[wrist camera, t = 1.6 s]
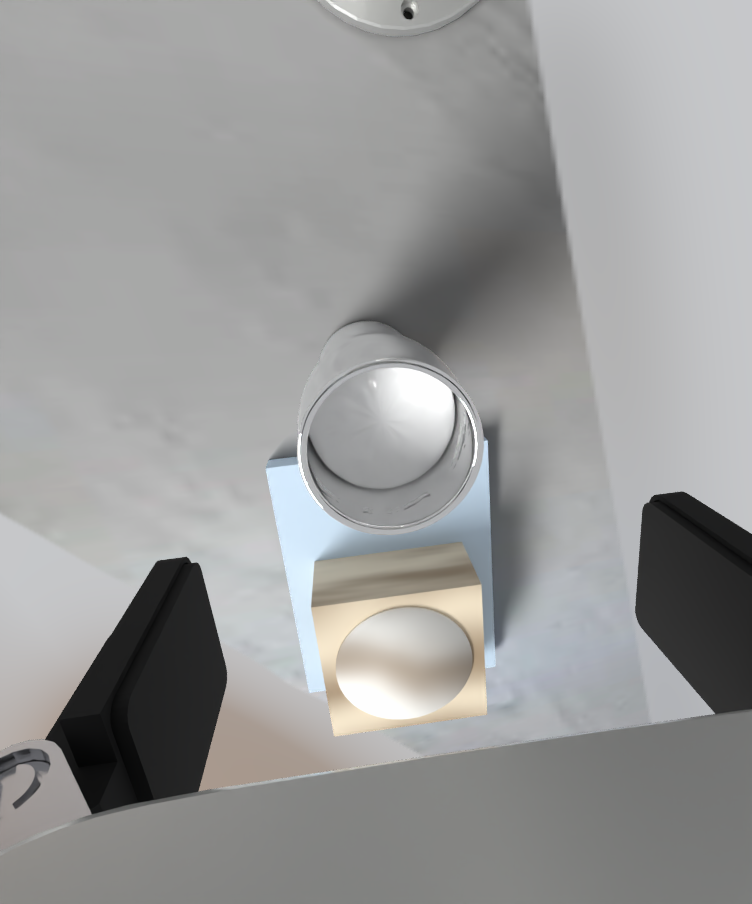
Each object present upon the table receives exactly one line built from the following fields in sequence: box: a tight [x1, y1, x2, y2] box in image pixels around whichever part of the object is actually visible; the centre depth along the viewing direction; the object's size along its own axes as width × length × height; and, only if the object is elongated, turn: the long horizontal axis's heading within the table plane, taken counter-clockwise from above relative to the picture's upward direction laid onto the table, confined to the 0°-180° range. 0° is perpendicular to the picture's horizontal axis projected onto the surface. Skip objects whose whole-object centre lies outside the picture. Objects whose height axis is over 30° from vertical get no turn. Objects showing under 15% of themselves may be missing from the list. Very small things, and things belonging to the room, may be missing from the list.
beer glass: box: [297, 321, 484, 535], centre depth 25 cm, size 7×7×15 cm
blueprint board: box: [266, 437, 495, 693], centre depth 36 cm, size 18×14×2 cm
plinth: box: [311, 542, 487, 736], centre depth 34 cm, size 10×10×5 cm
